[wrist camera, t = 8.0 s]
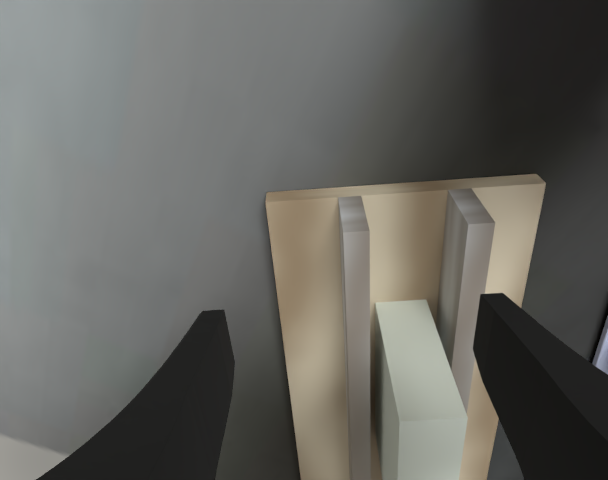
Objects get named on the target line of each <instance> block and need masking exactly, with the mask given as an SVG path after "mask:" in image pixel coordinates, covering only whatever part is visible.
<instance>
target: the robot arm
mask: <svg viewBox="0 0 608 480" xmlns="http://www.w3.org/2000/svg"><path fill="white" fill-rule="evenodd" d="M473 352H474V355H475V359H476V362H477V366H478V369H479V372H480V375H481V378H482V382H483V384H484V386H485V389H486V391H487V393H488V395H489V398H490V400H491V402H492V404H493V407H494V409H495V411H496V413H497V415H498V418H499V420H500V422H501V424H502V426H503V429H504V431H505V433H506V435H507V438H508V440H509V442H510V444H511V446H512V449H513V451H514V453H515V455H516V458H517V460H518V463H519V465H520V468H521V470H522V473H523V476H524V479H525V480H608V316H607V319H606V322H605V325H604V328H603V332H602V335H601V338H600V341H599V344H598V347H597V350H596V353H595V356H594V359H593V362H592V364H591V363H590V362H589V361H587V360H586V359H584V358H583V357H582V356H580V355H579V354H577V353H576V352H575V351H573V350H572V349H571V348H569V347H568V346H567V345H565V344H564V343H563V342H562V341H560V340H559V339H558V338H556V337H555V336H554V335H553V334H551V333H550V332H549V331H548V330H546V329H545V328H544V327H543V326H542V325H540V324H539V323H538V322H537V321H536V320H534V319H533V318H532V317H531V316H530V315H528V314H527V313H526V312H525V311H524V310H523V309H521V308H520V307H519V306H518V305H517V304H516V303H514V302H513V301H512V300H511V299H510V298H508V297H507V296H506V295H505V294H504V293H491V294H480V301H479V308H478V315H477V322H476V329H475V336H474V342H473ZM234 365H235V361H234V356H233V351H232V346H231V341H230V337H229V332H228V327H227V322H226V317H225V312H224V310H210V311H202V312H201V313H200V315H199V316H198V317H197V319H196V320H195V322H194V323H193V325H192V326H191V328H190V329H189V331H188V332H187V333H186V335H185V336H184V338H183V339H182V340H181V342H180V343H179V344H178V346H177V347H176V348H175V350H174V351H173V352H172V354H171V355H170V356H169V358H168V359H167V360H166V362H165V363H164V364H163V365H162V367H161V368H160V369H159V370H158V371H157V373H156V374H155V375H154V376H153V377H152V378H151V380H150V381H149V382H148V383H147V384H146V386H145V387H144V388H143V389H142V390H141V391H140V392H139V393H138V394H137V396H136V397H135V398H134V399H133V400H132V401H131V402H130V403H129V404H128V405H127V406H126V407H125V408H124V409H123V410H122V411H121V412H120V413H119V414H118V415H117V416H116V417H115V418H114V419H113V420H111V421H110V422H109V423H108V424H107V425H106V426H105V427H104V428H102V429H101V430H100V431H99V432H98V433H97V434H96V435H94V436H93V437H92V438H91V439H90V440H89V441H88V442H86V443H85V444H84V445H83V446H81V447H80V448H79V449H78V450H76V451H75V452H74V453H72V454H71V455H70V456H69V457H67V458H66V459H65V460H63V461H62V462H60V463H59V464H58V465H56V466H55V467H54V468H52V469H51V470H49V471H48V472H47V473H45V474H44V475H43V476H41V477H39V478H38V479H36V480H215V476H216V470H217V465H218V460H219V455H220V451H221V446H222V441H223V436H224V432H225V427H226V422H227V417H228V412H229V407H230V403H231V397H232V389H233V378H234Z"/></svg>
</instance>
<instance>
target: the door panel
mask: <svg viewBox="0 0 608 480" xmlns="http://www.w3.org/2000/svg"><path fill="white" fill-rule="evenodd" d="M467 420H468V417H467V414H466V411H465V408H464V406H463V403H462V400H461V397H460V394H459V391H458V388H457V386H456V383H455V380H454V377H453V374H452V371H451V369H450V366H449V363H448V360H447V357H446V354H445V351H444V349H443V346H442V343H441V340H440V337H439V334H438V332H437V329H436V326H435V323H434V320H433V317H432V314H431V312H430V309H429V306H428V303H427V300H426V299H424V300H408V301H393V302H377V303H375V435H376V441H377V448H378V454H379V461H380V468H381V474H382V480H459V474H460V468H461V461H462V454H463V447H464V440H465V434H466V427H467Z"/></svg>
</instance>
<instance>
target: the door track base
mask: <svg viewBox="0 0 608 480" xmlns="http://www.w3.org/2000/svg"><path fill="white" fill-rule="evenodd" d="M545 186H546V183H545V182H544V181H543V180H542V179H541V178H540V177H539V176H538V175H537V174H525V175H511V176H496V177H482V178H467V179H453V180H438V181H424V182H409V183H394V184H380V185H365V186H351V187H336V188H322V189H307V190H293V191H278V192H267V195H266V202H265V203H266V210H267V218H268V226H269V234H270V242H271V250H272V257H273V265H274V273H275V281H276V289H277V296H278V304H279V312H280V320H281V328H282V335H283V343H284V351H285V359H286V367H287V375H288V382H289V390H290V398H291V406H292V414H293V421H294V429H295V437H296V445H297V453H298V460H299V468H300V476H301V480H382V474H381V468H380V461H379V454H378V448H377V441H376V435H375V303H377V302H393V301H408V300H424V299H426V300H427V303H428V306H429V309H430V312H431V314H432V317H433V320H434V323H435V326H436V329H437V332H438V334H439V337H440V340H441V343H442V346H443V349H444V351H445V354H446V357H447V360H448V363H449V366H450V369H451V371H452V374H453V377H454V380H455V383H456V386H457V388H458V391H459V394H460V397H461V400H462V403H463V406H464V408H465V411H466V414H467V417H468V420H467V427H466V434H465V440H464V447H463V454H462V461H461V468H460V474H459V480H486V479H487V474H488V469H489V464H490V459H491V454H492V449H493V444H494V439H495V434H496V429H497V424H498V419H499V418H498V415H497V413H496V411H495V409H494V407H493V404H492V402H491V400H490V398H489V395H488V393H487V391H486V389H485V386H484V384H483V382H482V378H481V375H480V372H479V369H478V366H477V362H476V359H475V355H474V352H473V342H474V336H475V329H476V322H477V315H478V308H479V301H480V294H491V293H504V294H505V295H506V296H507V297H508V298H510V299H511V300H512V301H513V302H514V303H516V304H517V305H518V306H519V307H520V308H521V305H522V300H523V295H524V291H525V286H526V281H527V276H528V271H529V266H530V261H531V256H532V251H533V246H534V241H535V236H536V231H537V226H538V221H539V216H540V211H541V206H542V201H543V196H544V191H545Z"/></svg>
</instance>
